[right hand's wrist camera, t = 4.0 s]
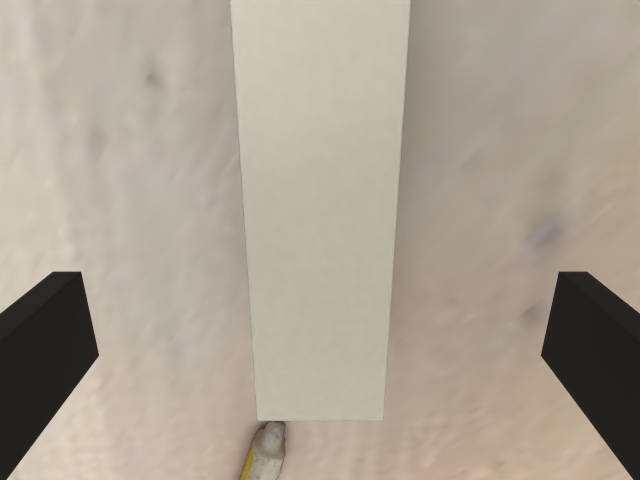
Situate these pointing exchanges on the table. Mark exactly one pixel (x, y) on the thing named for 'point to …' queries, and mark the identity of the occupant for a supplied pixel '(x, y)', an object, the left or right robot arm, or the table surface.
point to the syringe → (265, 453)
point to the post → (320, 197)
